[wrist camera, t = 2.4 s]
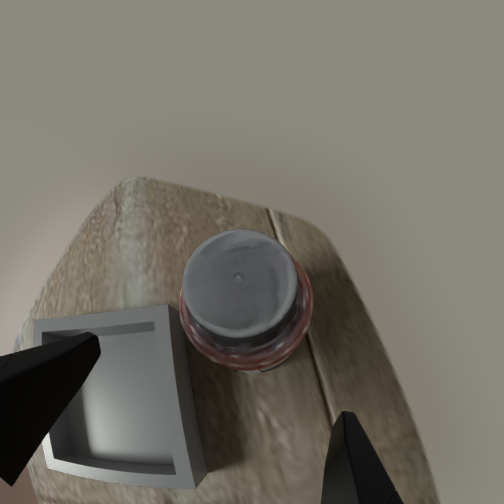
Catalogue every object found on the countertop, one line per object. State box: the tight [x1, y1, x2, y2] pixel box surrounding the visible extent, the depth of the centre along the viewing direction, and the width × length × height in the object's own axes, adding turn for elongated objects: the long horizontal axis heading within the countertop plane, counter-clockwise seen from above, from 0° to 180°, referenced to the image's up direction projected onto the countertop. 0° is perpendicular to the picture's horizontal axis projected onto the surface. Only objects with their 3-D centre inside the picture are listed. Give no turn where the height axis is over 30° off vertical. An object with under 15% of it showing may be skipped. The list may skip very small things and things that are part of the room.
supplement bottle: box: [179, 229, 314, 373], centre depth 15 cm, size 6×6×11 cm
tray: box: [34, 304, 207, 489], centre depth 16 cm, size 12×12×4 cm
